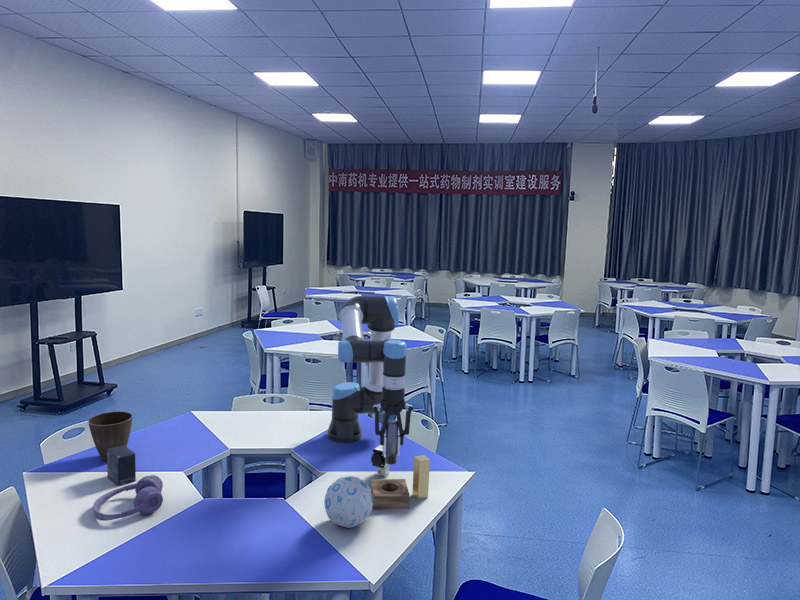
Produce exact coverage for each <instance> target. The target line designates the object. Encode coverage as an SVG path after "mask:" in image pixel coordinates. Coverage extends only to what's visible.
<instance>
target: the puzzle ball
mask: <svg viewBox="0 0 800 600" xmlns="http://www.w3.org/2000/svg"><path fill="white" fill-rule="evenodd" d="M324 509H325V513H326V515H327V517H328V518H329V521H331V523H333V524H334V525H337V526H340V527H342V528H346V529H350V528H354V527H356V526H359V525H360V524H362V523H364V522H365V521H367V520H366V519H368V518H369V516H370V514H371V511H372V510H373V497H372V493H371V487H370V486H369V485H368V484H367V483H366V482H365V481H364V480H363V479H360V478H359V477H357V476H352V475H348V476H346V475H345V476H342V477H340V478H338V479H336V480H335V481H334V482H332V483H331V485H329V487H328V488H327V489H326V492H325V495H324Z"/></svg>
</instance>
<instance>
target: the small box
mask: <svg viewBox="0 0 800 600" xmlns="http://www.w3.org/2000/svg"><path fill="white" fill-rule="evenodd" d="M106 462H107V465H106V466H107V467H106V469H107V470H106V471H107V478H108V479H109V480H110V481H112V483H114V484H115V485H116V486H117V487H120V486H123V485H124V486H125V485H127V484H130V483H134V482H136V481H137V479H136V478H137V477H136V476H137V475H136V472H137V471H136V452H134V451H133V450H132V449H130V448H128V446H127V447H126V446H125V445H122V446H118V447H114V448H109V449H107V461H106Z"/></svg>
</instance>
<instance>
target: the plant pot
mask: <svg viewBox="0 0 800 600" xmlns="http://www.w3.org/2000/svg"><path fill="white" fill-rule="evenodd" d="M132 421H133V414H132V413H131V412H128V411H110V412H109V411H108V412H104V413H100V414H96V415H93V416H91V417H90V418H89V419H88V427H89V430H90V431H89V432H90V434H91V437H92V440H93V444H94V446H95V448H96V451H97V453H98V455H99V456H100V458H101V460H102V461H103V462H107V449H109V448H114V447H118V446H122V445H125V446H126V447H127V448H128V443H129V440H130V436H131V432H132V431H131V429H132V425H133V423H132Z"/></svg>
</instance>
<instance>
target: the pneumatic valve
mask: <svg viewBox="0 0 800 600" xmlns="http://www.w3.org/2000/svg"><path fill="white" fill-rule="evenodd" d="M371 455H372V456H371V459H370V461H371V465H372V466H374V467H377V474H378V475H377V476H381V477H382V476H383V477H384V476H385V477H386V476H387V474H388V475H389V474H390V466H391V465H390V464H387V463H385V456H384V455H383V446H381V444H380V443H379V445H377V446H376V447H375V448H373V449H372V454H371Z"/></svg>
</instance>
